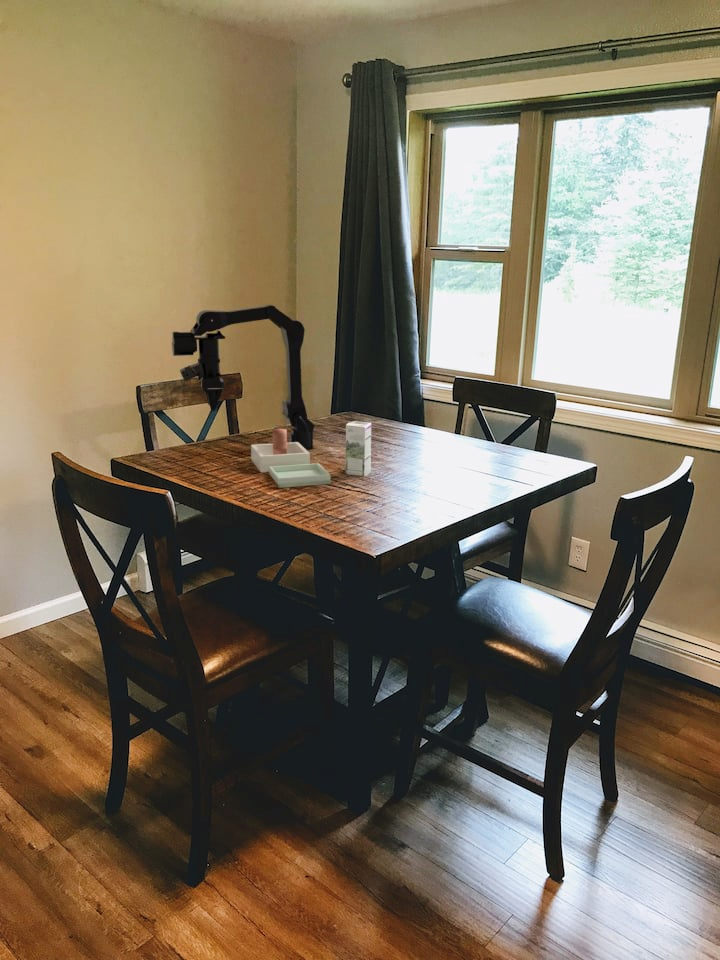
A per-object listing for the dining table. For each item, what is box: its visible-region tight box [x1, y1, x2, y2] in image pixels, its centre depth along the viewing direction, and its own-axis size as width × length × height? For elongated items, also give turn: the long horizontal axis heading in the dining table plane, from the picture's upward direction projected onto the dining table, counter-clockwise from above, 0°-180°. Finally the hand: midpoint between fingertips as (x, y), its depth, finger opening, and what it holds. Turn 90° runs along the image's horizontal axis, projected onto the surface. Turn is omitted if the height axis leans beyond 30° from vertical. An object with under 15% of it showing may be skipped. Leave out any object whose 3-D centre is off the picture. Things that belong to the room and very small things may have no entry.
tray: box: [268, 462, 332, 489], centre depth 205 cm, size 14×12×2 cm
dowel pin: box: [272, 428, 288, 455], centre depth 217 cm, size 4×4×10 cm
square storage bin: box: [250, 441, 311, 473], centre depth 218 cm, size 14×14×5 cm
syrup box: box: [345, 420, 372, 477], centre depth 210 cm, size 6×6×14 cm
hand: (211, 407), depth 225 cm, fingers open, 9 cm apart
